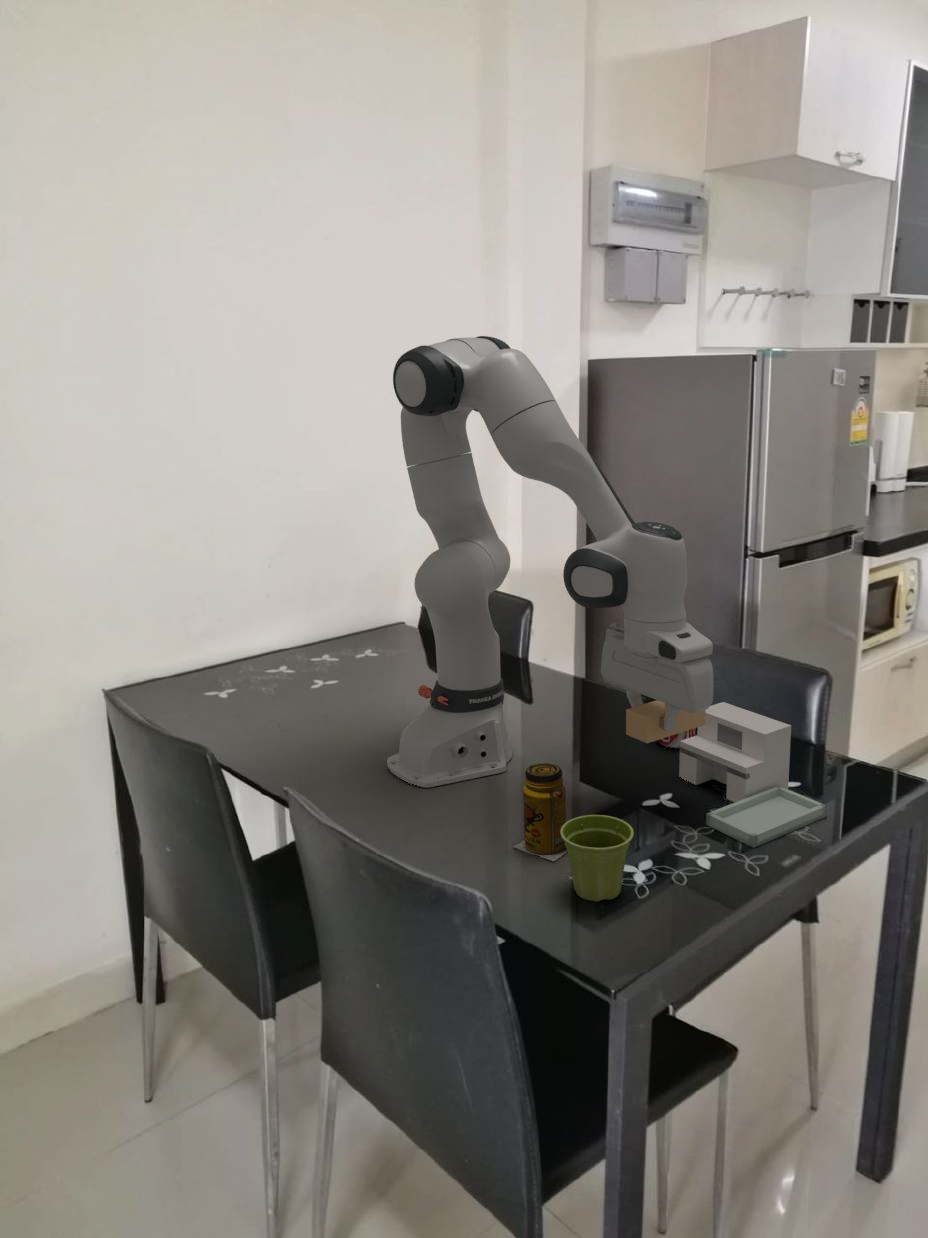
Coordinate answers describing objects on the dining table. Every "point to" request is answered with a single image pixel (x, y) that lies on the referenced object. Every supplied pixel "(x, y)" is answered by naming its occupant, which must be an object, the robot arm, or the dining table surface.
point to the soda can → (677, 738)
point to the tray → (766, 816)
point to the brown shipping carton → (658, 721)
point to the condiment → (544, 811)
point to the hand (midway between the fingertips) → (653, 723)
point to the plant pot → (597, 854)
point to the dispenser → (737, 752)
